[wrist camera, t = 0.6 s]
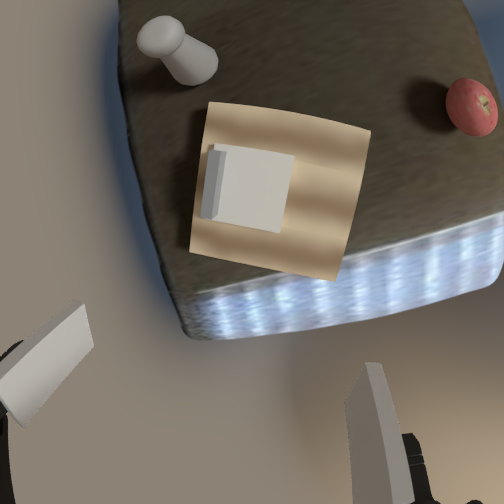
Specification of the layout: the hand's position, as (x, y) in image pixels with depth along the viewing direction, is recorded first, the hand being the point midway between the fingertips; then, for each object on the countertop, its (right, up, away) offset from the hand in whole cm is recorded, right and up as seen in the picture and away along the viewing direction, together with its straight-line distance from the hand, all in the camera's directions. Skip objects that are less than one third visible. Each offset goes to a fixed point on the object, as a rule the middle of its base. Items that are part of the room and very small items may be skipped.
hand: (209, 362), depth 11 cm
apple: (+29, +24, +14) cm, 40 cm away
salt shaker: (-5, +28, +17) cm, 33 cm away
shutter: (+1, +12, +18) cm, 22 cm away
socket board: (+5, +12, +21) cm, 25 cm away
